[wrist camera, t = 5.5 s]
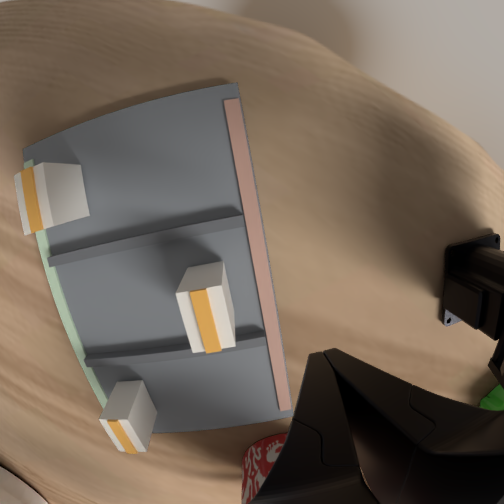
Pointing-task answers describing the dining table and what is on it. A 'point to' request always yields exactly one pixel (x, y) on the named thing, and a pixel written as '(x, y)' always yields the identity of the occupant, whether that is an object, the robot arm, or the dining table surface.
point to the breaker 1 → (50, 195)
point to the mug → (259, 464)
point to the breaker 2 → (129, 416)
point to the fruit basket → (494, 399)
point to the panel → (167, 258)
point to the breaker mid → (207, 308)
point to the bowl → (16, 490)
